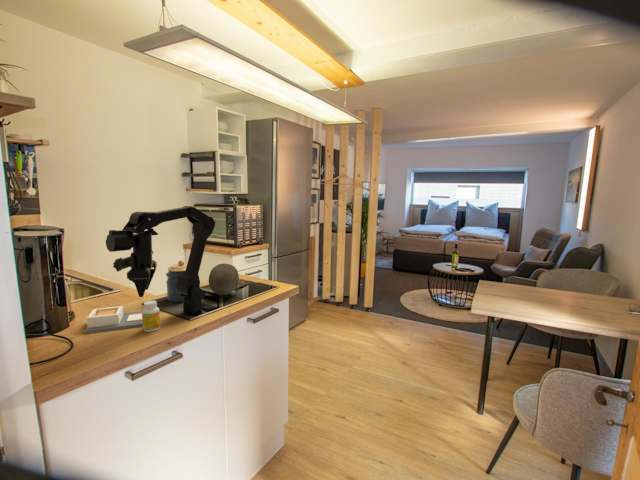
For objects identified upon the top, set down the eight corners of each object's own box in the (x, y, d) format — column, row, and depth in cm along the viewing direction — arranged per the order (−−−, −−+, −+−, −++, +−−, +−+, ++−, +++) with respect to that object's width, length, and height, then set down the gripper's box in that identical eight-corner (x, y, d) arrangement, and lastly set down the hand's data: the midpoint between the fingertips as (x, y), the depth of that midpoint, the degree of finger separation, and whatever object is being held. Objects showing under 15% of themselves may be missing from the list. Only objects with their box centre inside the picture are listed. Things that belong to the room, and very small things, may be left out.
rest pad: (148, 313, 125) (148, 312, 125) (146, 319, 119) (146, 318, 119) (129, 315, 123) (129, 314, 123) (126, 321, 117) (126, 321, 117)
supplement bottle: (143, 333, 110) (141, 305, 109) (143, 327, 115) (141, 301, 113) (160, 330, 113) (159, 303, 111) (160, 324, 117) (158, 299, 116)
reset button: (116, 314, 121) (116, 309, 120) (113, 319, 116) (113, 314, 115) (99, 316, 118) (98, 311, 118) (95, 321, 114) (95, 316, 113)
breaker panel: (151, 312, 129) (150, 301, 128) (148, 325, 116) (147, 313, 116) (95, 318, 122) (94, 307, 121) (84, 333, 109) (83, 320, 108)
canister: (190, 292, 156) (189, 256, 153) (203, 298, 147) (201, 260, 144) (162, 298, 147) (160, 260, 144) (174, 305, 138) (172, 264, 135)
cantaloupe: (202, 295, 150) (201, 264, 148) (227, 289, 162) (226, 259, 159) (220, 302, 142) (219, 269, 140) (246, 294, 153) (245, 263, 151)
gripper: (122, 245, 116) (123, 287, 118) (107, 253, 99) (109, 302, 101) (156, 245, 120) (157, 286, 122) (147, 252, 103) (149, 300, 104)
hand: (143, 293), depth 112 cm, fingers open, 9 cm apart
